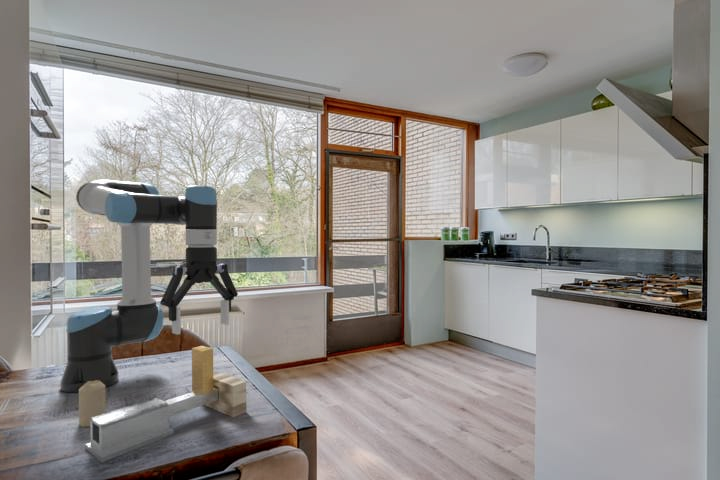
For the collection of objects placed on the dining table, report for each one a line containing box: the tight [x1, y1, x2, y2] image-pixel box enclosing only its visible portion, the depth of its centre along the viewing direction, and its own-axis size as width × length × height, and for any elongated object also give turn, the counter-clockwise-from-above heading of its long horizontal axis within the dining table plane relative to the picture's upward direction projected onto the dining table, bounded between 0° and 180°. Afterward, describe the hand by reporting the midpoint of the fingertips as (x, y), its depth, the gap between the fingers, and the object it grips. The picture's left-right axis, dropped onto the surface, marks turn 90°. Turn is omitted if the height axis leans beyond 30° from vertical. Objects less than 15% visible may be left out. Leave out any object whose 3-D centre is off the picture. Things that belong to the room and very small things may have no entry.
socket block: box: [204, 369, 247, 418], centre depth 109 cm, size 16×4×8 cm, turn 52°
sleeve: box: [84, 397, 175, 463], centre depth 91 cm, size 9×15×7 cm, turn 142°
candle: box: [78, 380, 107, 428], centre depth 101 cm, size 6×6×10 cm
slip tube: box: [163, 345, 219, 418], centre depth 101 cm, size 5×22×14 cm, turn 142°
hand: (201, 328), depth 105 cm, fingers open, 13 cm apart
